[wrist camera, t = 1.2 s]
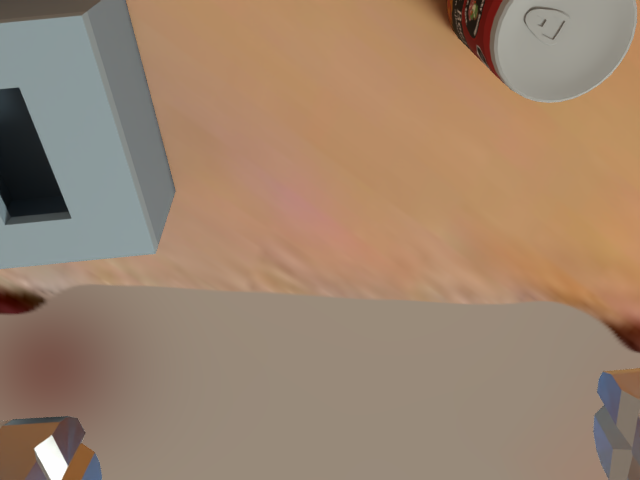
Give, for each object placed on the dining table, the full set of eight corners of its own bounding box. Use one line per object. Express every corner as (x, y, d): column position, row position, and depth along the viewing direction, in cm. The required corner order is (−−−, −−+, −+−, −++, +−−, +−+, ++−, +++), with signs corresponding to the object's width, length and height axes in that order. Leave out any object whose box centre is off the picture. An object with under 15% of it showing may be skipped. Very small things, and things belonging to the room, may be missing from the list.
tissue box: (-86, 4, 37) (-178, 40, 29) (121, -16, 37) (81, 15, 29) (9, 207, 46) (-43, 273, 38) (175, 190, 46) (155, 253, 39)
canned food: (459, -74, 36) (519, -54, 27) (572, -57, 37) (666, -32, 28) (431, 44, 40) (475, 96, 31) (533, 56, 41) (603, 110, 32)
